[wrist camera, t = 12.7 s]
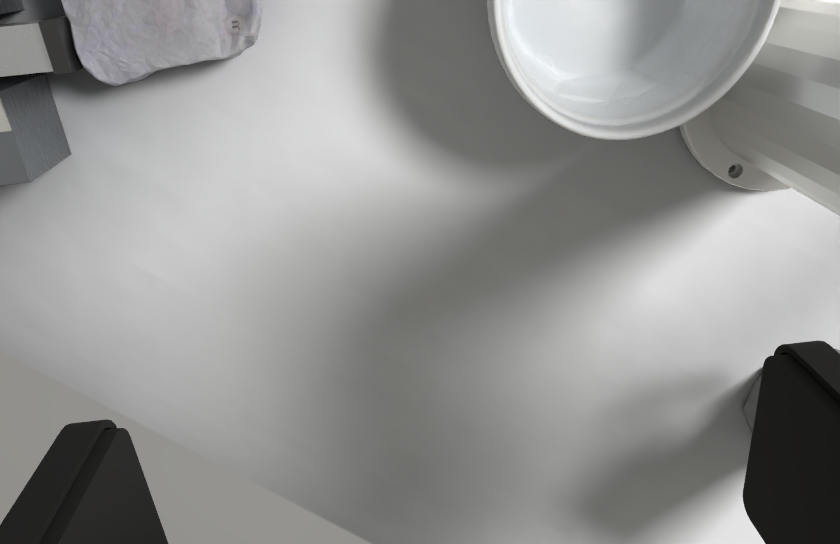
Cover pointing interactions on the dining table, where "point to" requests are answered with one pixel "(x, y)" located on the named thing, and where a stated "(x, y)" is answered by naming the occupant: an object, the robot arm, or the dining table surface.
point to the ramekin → (626, 58)
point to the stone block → (158, 34)
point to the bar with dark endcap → (38, 47)
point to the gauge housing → (28, 124)
